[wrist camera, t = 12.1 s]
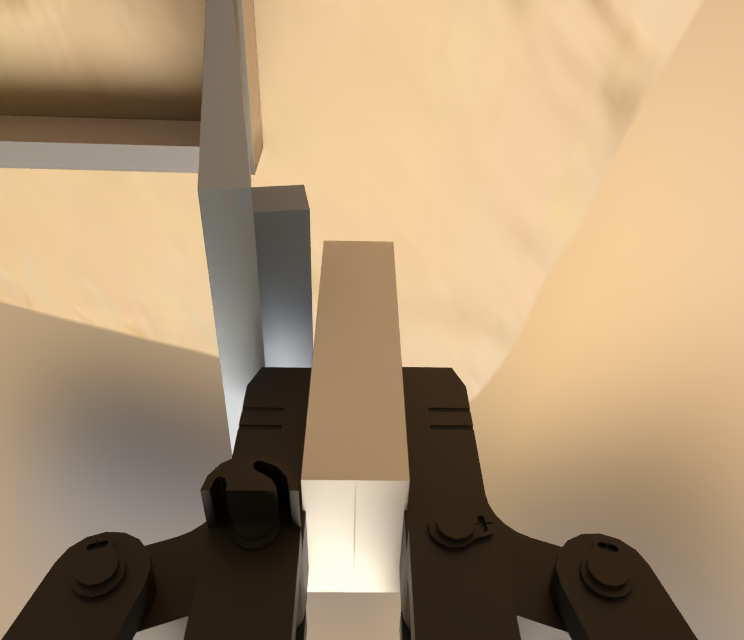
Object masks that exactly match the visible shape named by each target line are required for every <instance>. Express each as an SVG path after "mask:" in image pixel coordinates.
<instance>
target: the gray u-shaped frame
mask: <svg viewBox="0 0 744 640" xmlns="http://www.w3.org/2000/svg"><path fill="white" fill-rule="evenodd" d="M237 8H238V21H239V33H240V46H241V59H242V71H243V84H244V96H245V109H246V122H247V134H248V147H249V159H250V172H251V174H253V175H255V172H256V169H257V166H258V162H259V159H260V156H261V153H262V149H263V139H262V124H261V109H260V94H259V78H258V63H257V48H256V33H255V18H254V3H253V0H237ZM200 127H201V121H187V120H152V119H118V118H83V117H48V116H14V115H0V168H29V169H67V170H104V171H141V172H178V173H198V171H199V149H200Z"/></svg>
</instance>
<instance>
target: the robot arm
mask: <svg viewBox="0 0 744 640" xmlns="http://www.w3.org/2000/svg"><path fill="white" fill-rule="evenodd" d="M200 491H201V496H202V501H203V505H204V511H205V516H206V522H205V523H204V524H203V525H201V526H199V527H198V528H196V529H194V530H193V531H191V532H189V533H186V534H184V535H181V536H178V537H175V538H172V539H168V540H165V541H161V542H157V543H154V544H150V545H147V546H144V545H143V544H142V542H141V541H140V540H139V539H137V538H135V537H133V536H131V535H129V534H126V533H120V532H105V533H101V534H97V535H93V536H90V537H87V538H85V539H83V540H81V541H80V542H78V543H76V544H75V545H73V546H71V547H70V548H68V549H67V551H66V552H65V553H64V554H63V555H62V556H61V557H60V558H59V559H58V560H57V561H56V562H55V563H54V565H53V567H52V568H51V569H50V571H49V572H48V574H47V575H46V576H45V578H44V579H43V581H42V582H41V584H40V585H39V586H38V588H37V589H36V591H35V592H34V594H33V595H32V597H31V598H30V600H29V601H28V602H27V604H26V605H25V607H24V608H23V610H22V611H21V612H20V614H19V615H18V617H17V618H16V620H15V621H14V623H13V624H12V626H11V627H10V628H9V630H8V631H7V633H6V634H5V635H4V637H3V638H2V640H306V634H307V621H306V601H307V592H400V591H401V617H400V628H399V639H398V640H698V639H697V638H696V636H695V635H694V633H693V632H692V630H691V629H690V627H689V625H688V624H687V622H686V621H685V619H684V618H683V616H682V615H681V613H680V612H679V610H678V609H677V607H676V606H675V604H674V603H673V601H672V599H671V598H670V596H669V595H668V593H667V592H666V590H665V589H664V587H663V586H662V584H661V583H660V581H659V579H658V578H657V576H656V575H655V573H654V572H653V570H652V569H651V567H650V566H649V564H648V563H647V562H646V561H645V560H644V559H643V558H642V556H641V555H640V554H639V553H638V552H637V551H636V550H635V549H633V548H632V547H630V546H629V545H627V544H625V543H624V542H622V541H621V540H619V539H616V538H613V537H610V536H606V535H603V534H581V535H579V536H577V537H575V538H572V539H570V540H568V541H567V542H566V543H565V544H564V546H563V547H560V546H557V545H553V544H550V543H547V542H543V541H540V540H537V539H533V538H530V537H528V536H525V535H523V534H520V533H518V532H516V531H514V530H513V529H511V528H510V527H508V526H507V525H505V524H504V523H503V522H502V521H501V520H500V519H499V518H498V517H497V516H496V515H495V513H494V512H493V510H492V509H491V507H490V506H489V504H488V501H487V498H486V495H485V490H484V485H483V479H482V474H481V468H480V463H479V457H478V451H477V446H476V440H475V435H474V430H473V423H472V418H471V413H470V407H469V401H468V395H467V390H466V386H465V385H464V383H463V382H462V381H461V380H460V378H459V377H458V376H457V374H456V373H455V372H454V370H453V369H452V368H434V367H402V361H401V347H400V332H399V318H398V303H397V289H396V274H395V260H394V245H393V242H372V241H324V245H323V255H322V266H321V276H320V287H319V297H318V307H317V318H316V328H315V339H314V349H313V360H312V368H301V367H262V368H261V369H260V370H259V371H258V373H257V374H256V375H255V376H254V377H253V379H252V380H251V381H250V382H249V384H248V385H247V387H246V392H245V397H244V402H243V407H242V411H241V416H240V421H239V429H238V431H237V436H236V440H235V445H234V450H233V455H232V459H230V460H228V461H226V462H224V463H221V464H220V465H219V466H218V467H217V468H215V469H214V470H213V471H212V472H211V473H210V474H209V475H208V476H207V478H206V480H205V482H204V484H203V486H202V488H201V490H200Z"/></svg>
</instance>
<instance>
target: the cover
mask: <svg viewBox="0 0 744 640" xmlns="http://www.w3.org/2000/svg"><path fill="white" fill-rule="evenodd" d="M198 197H199V204H200V212H201V219H202V227H203V235H204V242H205V250H206V257H207V265H208V273H209V280H210V288H211V295H212V303H213V311H214V318H215V326H216V334H217V341H218V349H219V356H220V364H221V372H222V379H223V387H224V394H225V402H226V410H227V417H228V425H229V432H230V439H231V448H232V455H233V450H234V445H235V440H236V436H237V431H238V429H239V421H240V416H241V411H242V407H243V402H244V397H245V392H246V387H247V385H248V384H249V382H250V381H251V380H252V379H253V377H254V376H255V375H256V374H257V373H258V371H259V370H260V369H261V368H262V367H301V368H312V360H313V328H312V287H311V246H310V209H309V205H308V200H307V196H306V192H305V188H304V185H291V186H270V187H251V172H250V159H249V147H248V134H247V122H246V109H245V96H244V84H243V71H242V59H241V46H240V33H239V21H238V8H237V0H206V18H205V40H204V62H203V84H202V105H201V127H200V149H199V171H198Z"/></svg>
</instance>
